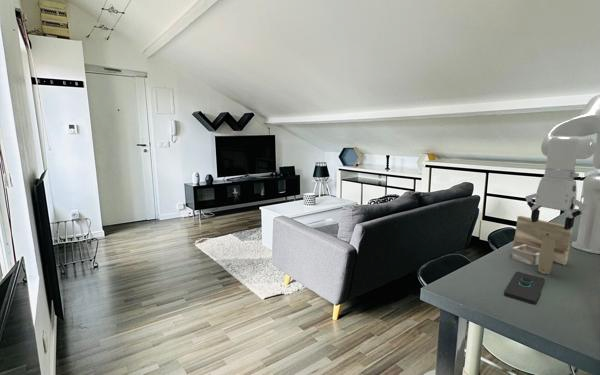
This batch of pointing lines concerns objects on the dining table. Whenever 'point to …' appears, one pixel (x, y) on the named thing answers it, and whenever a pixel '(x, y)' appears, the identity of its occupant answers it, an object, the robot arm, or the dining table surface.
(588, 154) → the robot arm
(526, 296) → the smart home device
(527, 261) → the wooden wall shelf
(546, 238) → the handle
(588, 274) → the dining table surface
